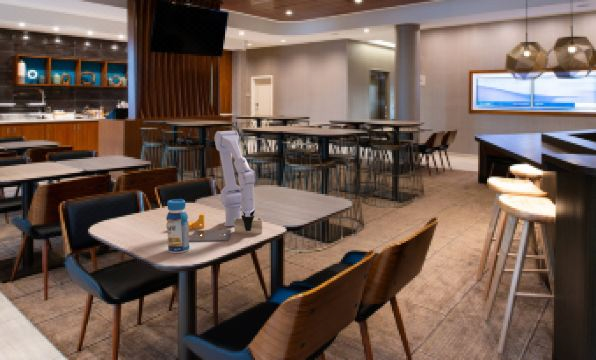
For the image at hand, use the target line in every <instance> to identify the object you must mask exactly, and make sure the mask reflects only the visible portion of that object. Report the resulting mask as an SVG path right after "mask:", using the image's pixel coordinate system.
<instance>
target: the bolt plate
mask: <svg viewBox="0 0 596 360" xmlns="http://www.w3.org/2000/svg"><path fill="white" fill-rule="evenodd" d="M231 233H232V229H211V230H209V229H208V230H207V229H206V230H205V229H203V230H202V229H199V230H198V229H197V230H196V229H195V230H194V232H193V233H192V235H191V236H190V237H189V243H193V242H194V243H195V242H196V243H197V242H198V243H201V242H202V243H205V242H228V241H229V239H230V235H231Z"/></svg>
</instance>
